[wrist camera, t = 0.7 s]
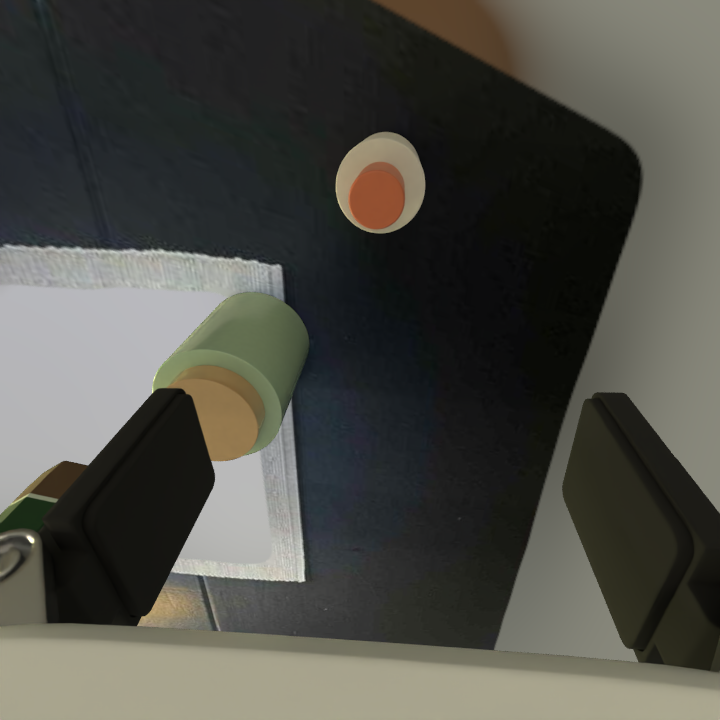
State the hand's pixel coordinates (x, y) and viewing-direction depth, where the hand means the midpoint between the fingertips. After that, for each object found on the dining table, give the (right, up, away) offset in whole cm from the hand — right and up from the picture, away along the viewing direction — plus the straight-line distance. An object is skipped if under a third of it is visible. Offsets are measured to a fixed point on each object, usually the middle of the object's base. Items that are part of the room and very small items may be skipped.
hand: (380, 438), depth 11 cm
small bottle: (+1, +14, +17) cm, 22 cm away
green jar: (-8, +4, +24) cm, 25 cm away
